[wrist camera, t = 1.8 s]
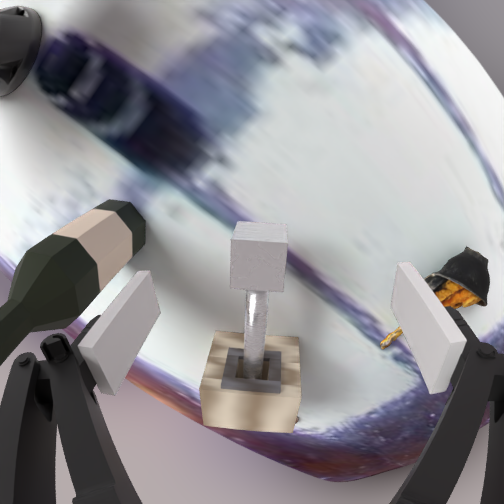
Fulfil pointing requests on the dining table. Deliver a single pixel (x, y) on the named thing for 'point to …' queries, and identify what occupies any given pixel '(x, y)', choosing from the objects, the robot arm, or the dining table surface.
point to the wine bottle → (69, 271)
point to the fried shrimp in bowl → (457, 284)
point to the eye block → (251, 385)
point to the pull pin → (257, 282)
